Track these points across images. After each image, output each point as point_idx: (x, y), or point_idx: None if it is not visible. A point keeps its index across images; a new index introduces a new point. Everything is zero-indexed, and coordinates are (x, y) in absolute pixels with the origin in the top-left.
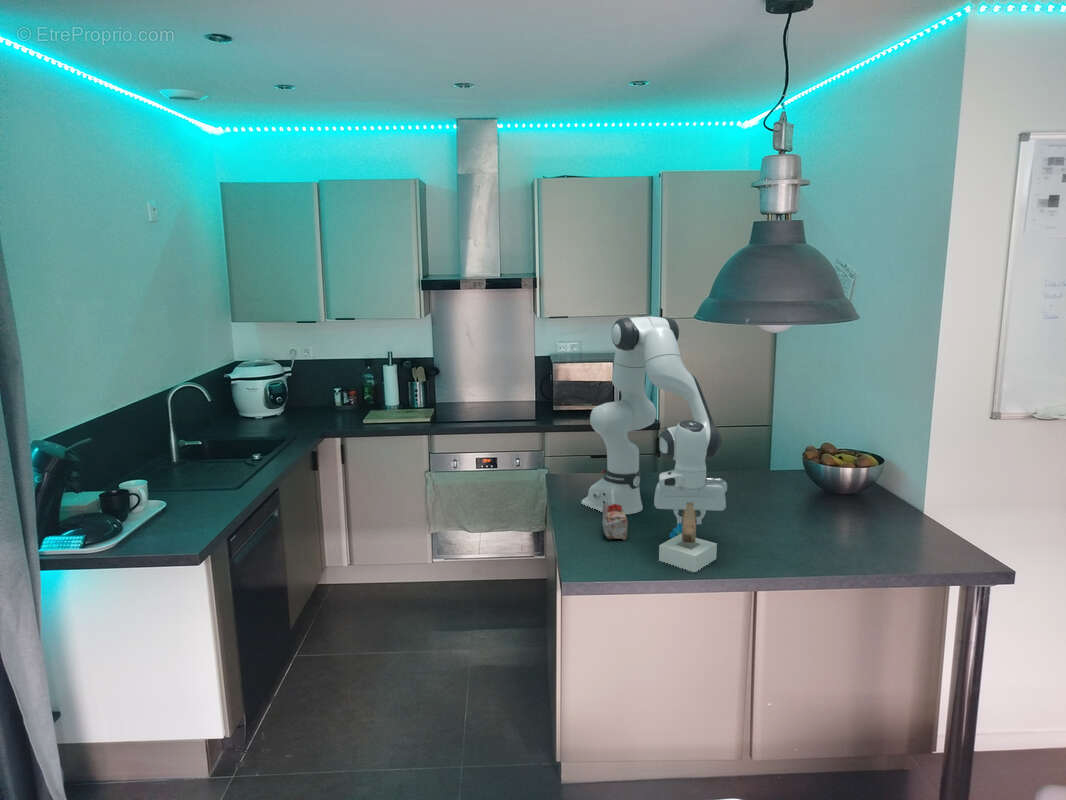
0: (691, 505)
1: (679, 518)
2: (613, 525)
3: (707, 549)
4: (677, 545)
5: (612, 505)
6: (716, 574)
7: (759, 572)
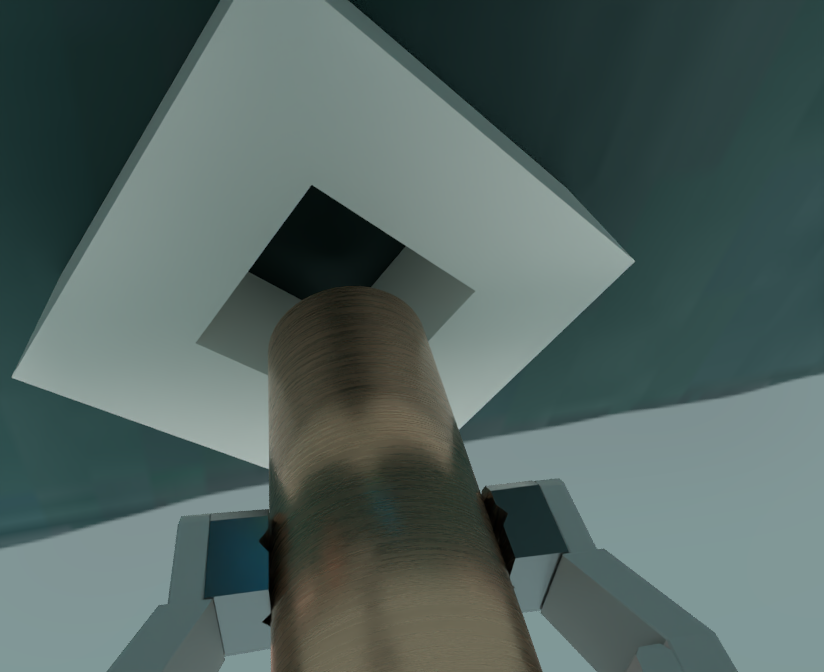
0: None
1: (222, 654)
2: None
3: (504, 381)
4: (222, 358)
5: None
6: (492, 405)
7: (754, 343)
